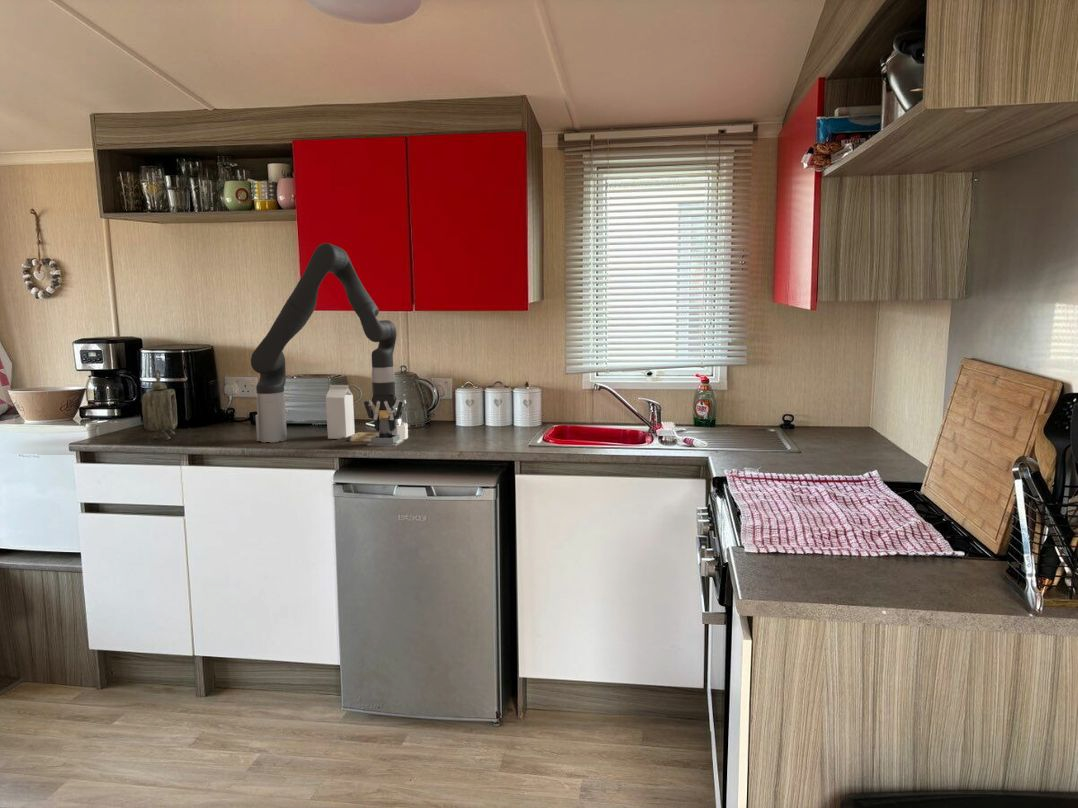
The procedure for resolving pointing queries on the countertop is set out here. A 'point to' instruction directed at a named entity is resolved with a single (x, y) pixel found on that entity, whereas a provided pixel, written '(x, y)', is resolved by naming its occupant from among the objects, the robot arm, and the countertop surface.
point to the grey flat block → (385, 441)
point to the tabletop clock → (159, 408)
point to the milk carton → (339, 412)
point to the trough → (362, 436)
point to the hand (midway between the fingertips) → (385, 430)
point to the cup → (401, 431)
